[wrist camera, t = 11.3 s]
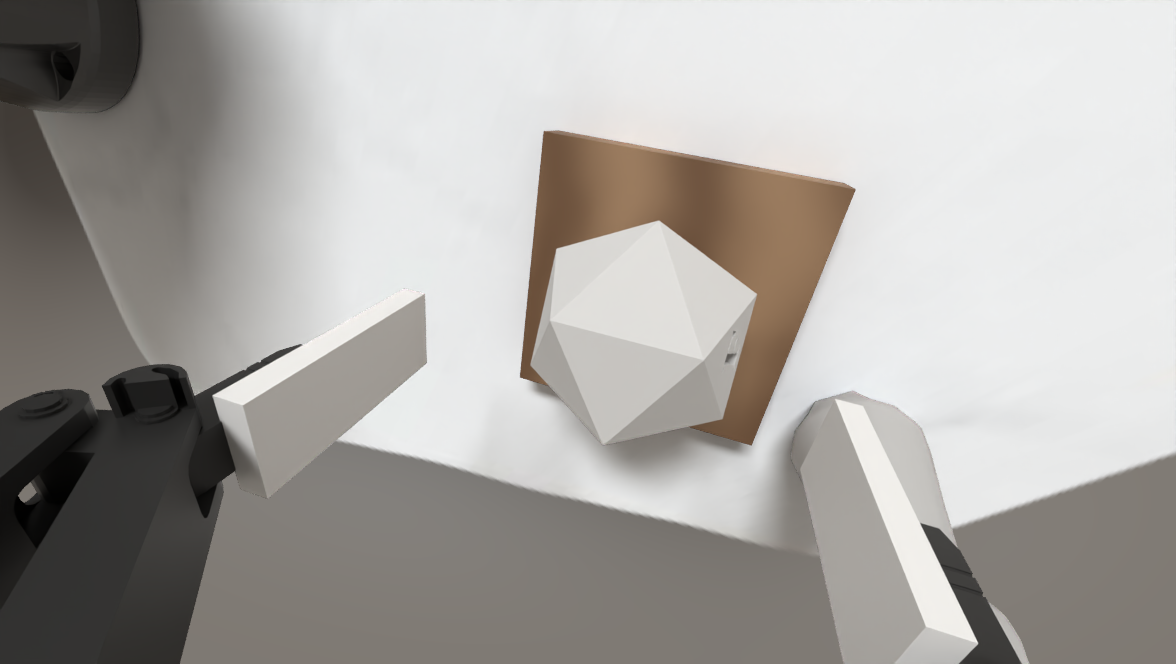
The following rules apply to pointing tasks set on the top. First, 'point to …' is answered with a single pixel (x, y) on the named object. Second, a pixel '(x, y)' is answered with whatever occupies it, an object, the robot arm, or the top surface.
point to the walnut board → (695, 240)
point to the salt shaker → (897, 468)
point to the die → (641, 333)
